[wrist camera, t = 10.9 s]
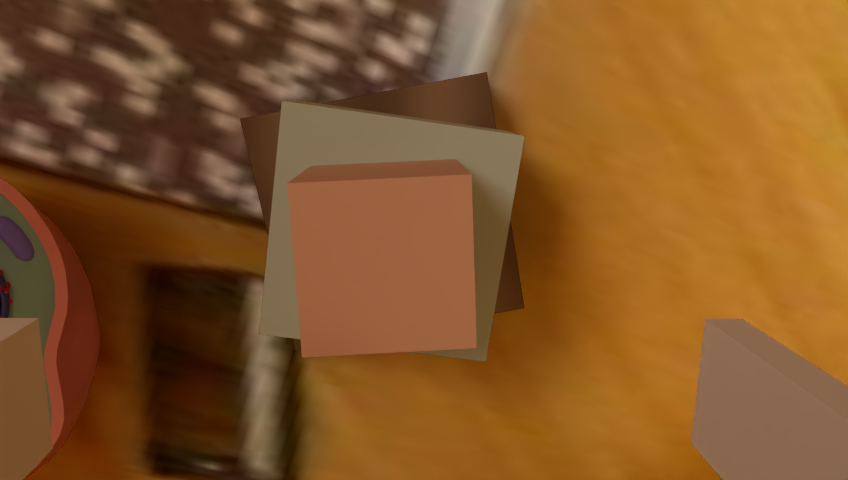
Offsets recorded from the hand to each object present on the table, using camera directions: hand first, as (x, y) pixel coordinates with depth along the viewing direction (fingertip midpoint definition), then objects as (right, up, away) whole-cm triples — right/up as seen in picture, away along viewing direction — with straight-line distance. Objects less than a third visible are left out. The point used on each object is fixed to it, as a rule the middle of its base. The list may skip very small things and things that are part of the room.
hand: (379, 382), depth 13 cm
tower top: (-1, +4, +20) cm, 20 cm away
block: (-1, +3, +15) cm, 15 cm away
